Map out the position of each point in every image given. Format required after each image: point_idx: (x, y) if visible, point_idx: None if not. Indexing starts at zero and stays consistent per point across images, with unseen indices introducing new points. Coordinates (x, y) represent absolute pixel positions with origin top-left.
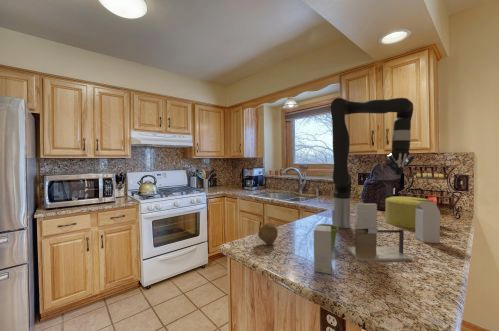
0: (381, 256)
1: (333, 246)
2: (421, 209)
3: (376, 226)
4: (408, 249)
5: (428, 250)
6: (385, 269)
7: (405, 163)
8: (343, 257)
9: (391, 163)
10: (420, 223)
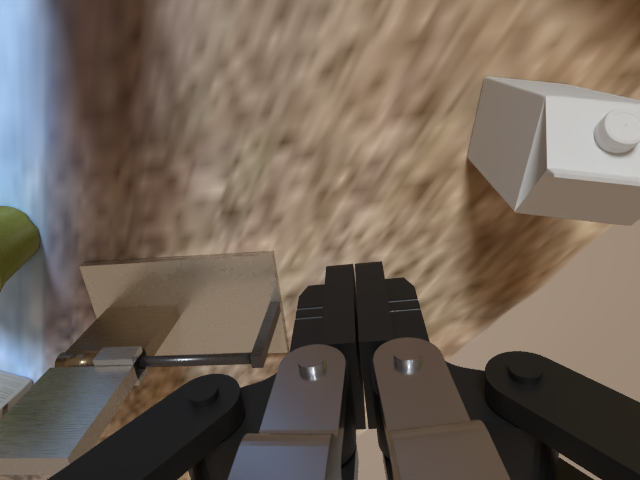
0: (188, 342)
1: (35, 252)
2: (544, 162)
3: (133, 384)
4: (336, 250)
5: (416, 255)
6: None
7: (611, 430)
8: (69, 332)
9: (150, 443)
10: (496, 153)
